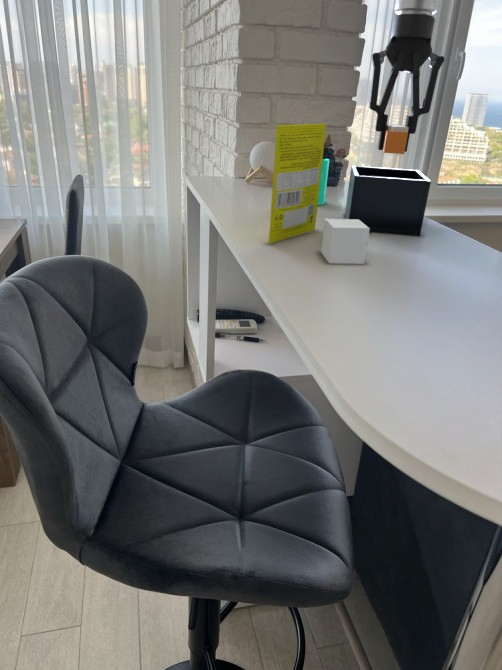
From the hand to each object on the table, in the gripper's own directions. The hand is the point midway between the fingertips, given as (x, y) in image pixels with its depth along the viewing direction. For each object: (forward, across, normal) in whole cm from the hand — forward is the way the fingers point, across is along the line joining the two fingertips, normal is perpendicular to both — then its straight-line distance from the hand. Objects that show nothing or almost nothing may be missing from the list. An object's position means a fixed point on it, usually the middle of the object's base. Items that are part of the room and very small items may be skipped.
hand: (391, 149), depth 103 cm
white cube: (+16, -9, -27) cm, 32 cm away
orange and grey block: (0, 0, 0) cm, 0 cm away
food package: (+16, -18, -16) cm, 29 cm away
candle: (+16, -15, +18) cm, 28 cm away
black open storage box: (+15, 0, 0) cm, 15 cm away
